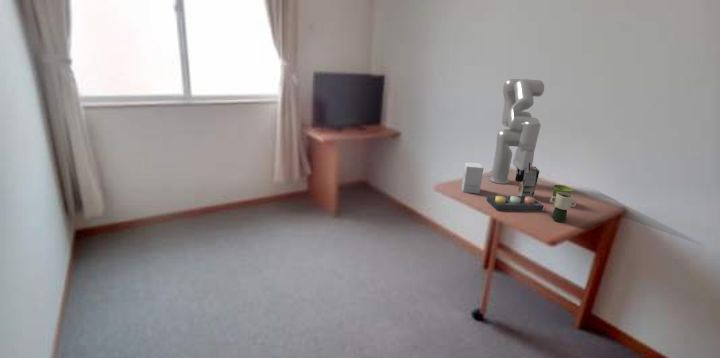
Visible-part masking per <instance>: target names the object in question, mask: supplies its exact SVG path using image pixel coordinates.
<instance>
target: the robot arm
mask: <svg viewBox="0 0 720 358" xmlns="http://www.w3.org/2000/svg"><path fill="white" fill-rule="evenodd" d="M502 87H503V88H502V94H503V99H504V100H503V101H504V102H503V103H504V104H503V110H502V120H501V124H502V126H503V127H507V128H504V129H500V130H499V131H497V133H496V134H497V135H496V147H495V152H494V153H495V154H494V158H493V163H492V164H493V165H492V169H491V170H490V175H489V176H488V177H487V180H488V181H490V182H491V183H492V182H493V183H495V184H500V185H506V184H509V183H510V182H511V181H510V179H509V178H508V177H509V173H510V168H511V164H512V165H513V166H514V167H515V168H516V170H515V172H516V174H515V178H514V180H515V182H517V183H520V182H522V181H523V177H524V175H525V174H528V171H530V170H531V167H532V166H533V162H534V155H535V151H536V146H537V142H538V138H539V135H540V130H541V122H540V121H539V119H538V118H536V117H532V114H531V113H530V112H529V111H526V110H528V109H530V108H532V107H533V106H534V103H535V101H534V97H538V98H539V97H541V96H543V94H544V91H545V84H544V82H543V81H542V80H540V79H529V78H524V79H523V78H522V79H521V78H510V79H509V78H508V79H506V80H505V81H504V83H503V86H502ZM510 147H516V150H515V153H514V155H513V151H512V150H511V148H510ZM513 156H514V157H513ZM512 158H513V160H512Z"/></svg>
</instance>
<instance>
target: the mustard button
mask: <svg viewBox="0 0 720 358" xmlns="http://www.w3.org/2000/svg"><path fill="white" fill-rule="evenodd" d="M495 196H496V197H495V201H496V202H497V203H505V201H506V198H505V197H503V196H504V195H495Z"/></svg>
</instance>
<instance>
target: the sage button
mask: <svg viewBox="0 0 720 358" xmlns="http://www.w3.org/2000/svg"><path fill="white" fill-rule="evenodd" d="M510 196H511V197H510V201H511V202H512V203H520V201H521V198H519V197H516V196H517V195H510Z"/></svg>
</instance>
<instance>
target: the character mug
mask: <svg viewBox="0 0 720 358" xmlns="http://www.w3.org/2000/svg"><path fill="white" fill-rule="evenodd" d="M553 198H554V199H555V201H553ZM577 202H578V201H577V200H576V199H574V195H572V193H570V194H568V193H564V192H558V193H557V194H556V197H553V195H552V196H550V200H549V203H551V204H553V207H555V208H554V209H553V212H552V214H551V218H552V219H553V220H554V221H557V222H562V223H564V222H566V221H567V215H568V214H567V213H568V210H570V209H571V207H573V208H575V207H576V206H577ZM572 203H573V204H572Z"/></svg>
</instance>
